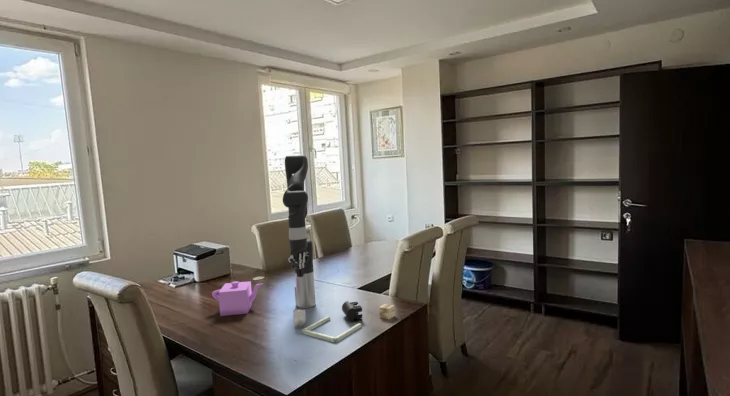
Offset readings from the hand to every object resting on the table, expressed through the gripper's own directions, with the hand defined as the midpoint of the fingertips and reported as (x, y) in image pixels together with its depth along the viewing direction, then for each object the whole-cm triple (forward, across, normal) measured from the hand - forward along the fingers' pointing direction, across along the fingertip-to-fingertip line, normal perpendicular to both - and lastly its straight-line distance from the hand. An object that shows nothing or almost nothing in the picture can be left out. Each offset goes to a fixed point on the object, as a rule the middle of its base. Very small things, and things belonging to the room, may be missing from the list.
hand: (300, 276), depth 173 cm
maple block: (+22, -26, +27) cm, 44 cm away
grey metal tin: (+22, +1, -1) cm, 22 cm away
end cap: (+22, -17, +14) cm, 31 cm away
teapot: (+22, 0, -44) cm, 50 cm away
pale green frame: (+22, -3, +14) cm, 26 cm away
